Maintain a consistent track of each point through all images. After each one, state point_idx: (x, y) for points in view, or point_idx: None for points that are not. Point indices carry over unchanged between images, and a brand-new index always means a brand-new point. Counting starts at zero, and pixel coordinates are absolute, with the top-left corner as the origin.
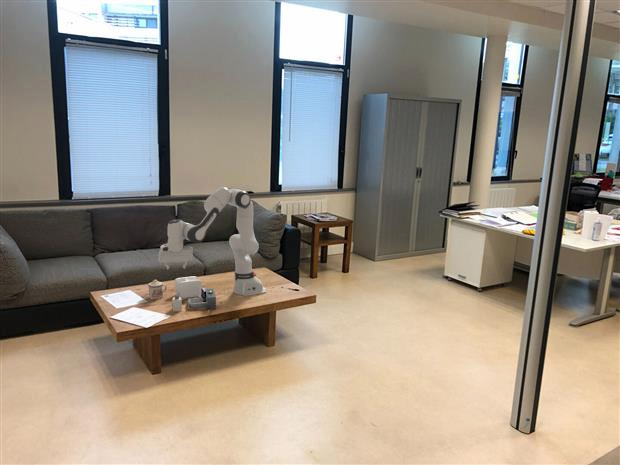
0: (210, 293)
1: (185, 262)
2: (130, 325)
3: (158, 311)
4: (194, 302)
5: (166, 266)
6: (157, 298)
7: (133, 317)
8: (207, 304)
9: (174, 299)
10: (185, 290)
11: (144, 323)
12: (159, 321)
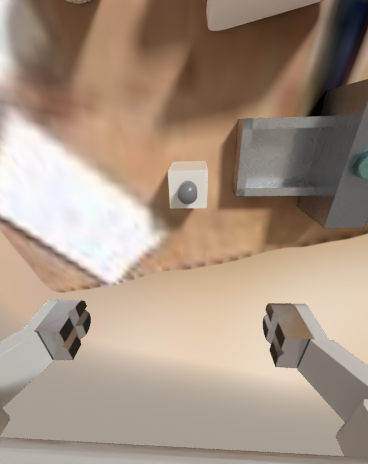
0: (363, 178)
1: (355, 453)
2: (66, 267)
3: (122, 184)
4: (267, 129)
5: (31, 365)
6: (86, 1)
7: (53, 218)
8: (308, 198)
9: (176, 197)
10: (250, 4)
11: (99, 263)
12: (137, 259)
